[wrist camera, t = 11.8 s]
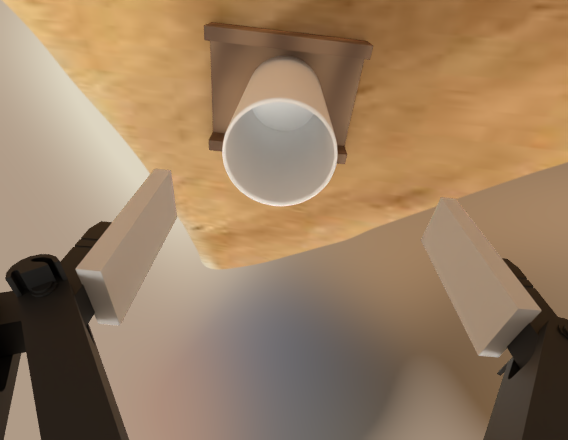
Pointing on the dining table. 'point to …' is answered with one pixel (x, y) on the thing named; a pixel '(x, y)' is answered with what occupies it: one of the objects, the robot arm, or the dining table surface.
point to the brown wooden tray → (270, 43)
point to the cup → (281, 135)
